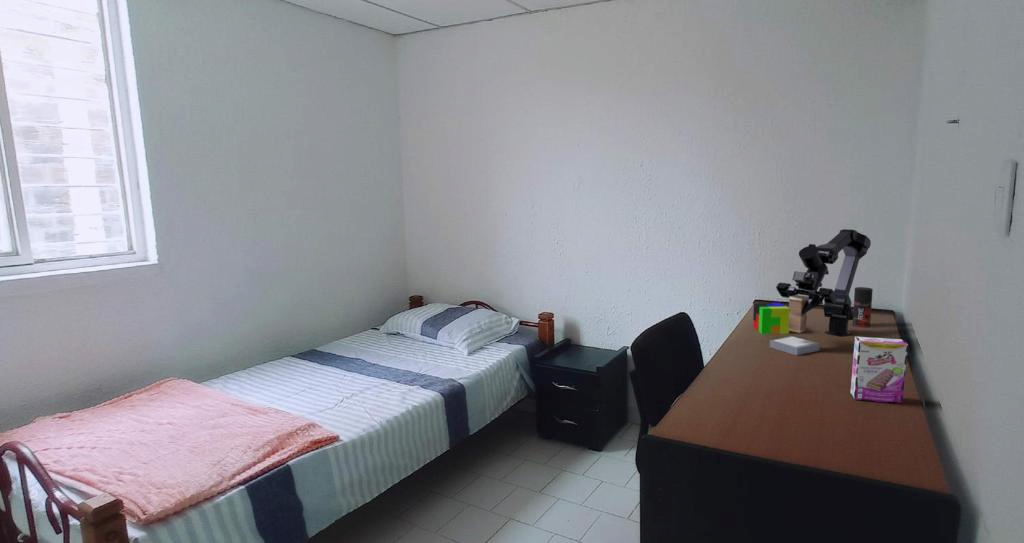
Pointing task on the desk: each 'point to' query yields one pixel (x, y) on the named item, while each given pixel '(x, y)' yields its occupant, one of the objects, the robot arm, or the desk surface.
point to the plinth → (794, 345)
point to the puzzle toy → (771, 318)
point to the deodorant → (862, 307)
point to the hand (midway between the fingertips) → (795, 312)
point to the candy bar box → (878, 369)
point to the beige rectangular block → (797, 313)
